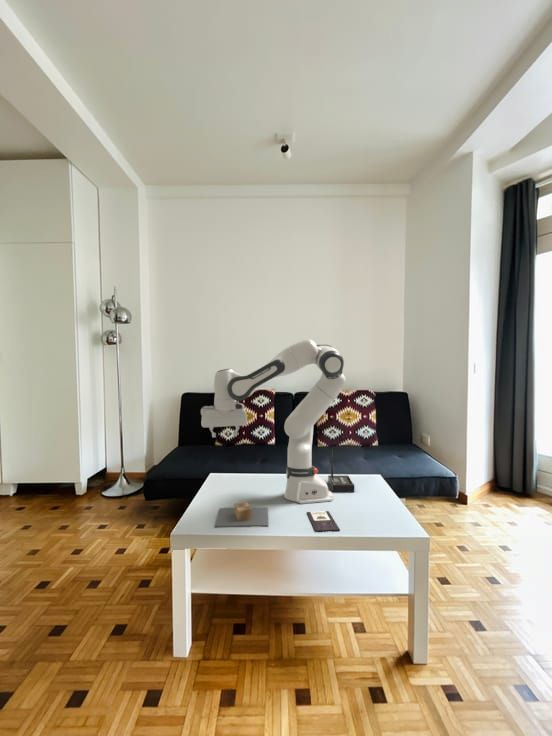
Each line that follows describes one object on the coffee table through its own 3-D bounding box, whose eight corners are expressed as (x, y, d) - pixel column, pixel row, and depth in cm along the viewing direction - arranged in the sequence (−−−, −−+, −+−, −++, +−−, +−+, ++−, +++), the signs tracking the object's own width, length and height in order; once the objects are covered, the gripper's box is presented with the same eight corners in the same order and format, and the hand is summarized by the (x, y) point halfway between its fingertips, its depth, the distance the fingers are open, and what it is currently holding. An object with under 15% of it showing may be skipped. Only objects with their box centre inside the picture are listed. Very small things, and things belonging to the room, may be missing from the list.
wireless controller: (358, 493, 183) (358, 457, 183) (328, 493, 183) (328, 457, 183) (350, 480, 203) (350, 448, 203) (323, 480, 203) (323, 448, 203)
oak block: (251, 519, 150) (246, 512, 157) (251, 509, 150) (246, 502, 157) (238, 521, 148) (234, 513, 156) (238, 510, 148) (234, 503, 156)
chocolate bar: (315, 530, 140) (306, 511, 158) (315, 533, 140) (306, 514, 158) (339, 529, 141) (328, 511, 158) (339, 532, 141) (328, 513, 158)
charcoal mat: (267, 508, 163) (267, 507, 163) (268, 526, 145) (268, 525, 145) (220, 509, 162) (219, 508, 162) (214, 527, 144) (214, 525, 144)
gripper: (201, 407, 165) (201, 439, 165) (247, 405, 171) (248, 436, 171) (199, 405, 171) (200, 436, 171) (244, 403, 177) (245, 433, 178)
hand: (224, 436), depth 171 cm, fingers open, 8 cm apart
